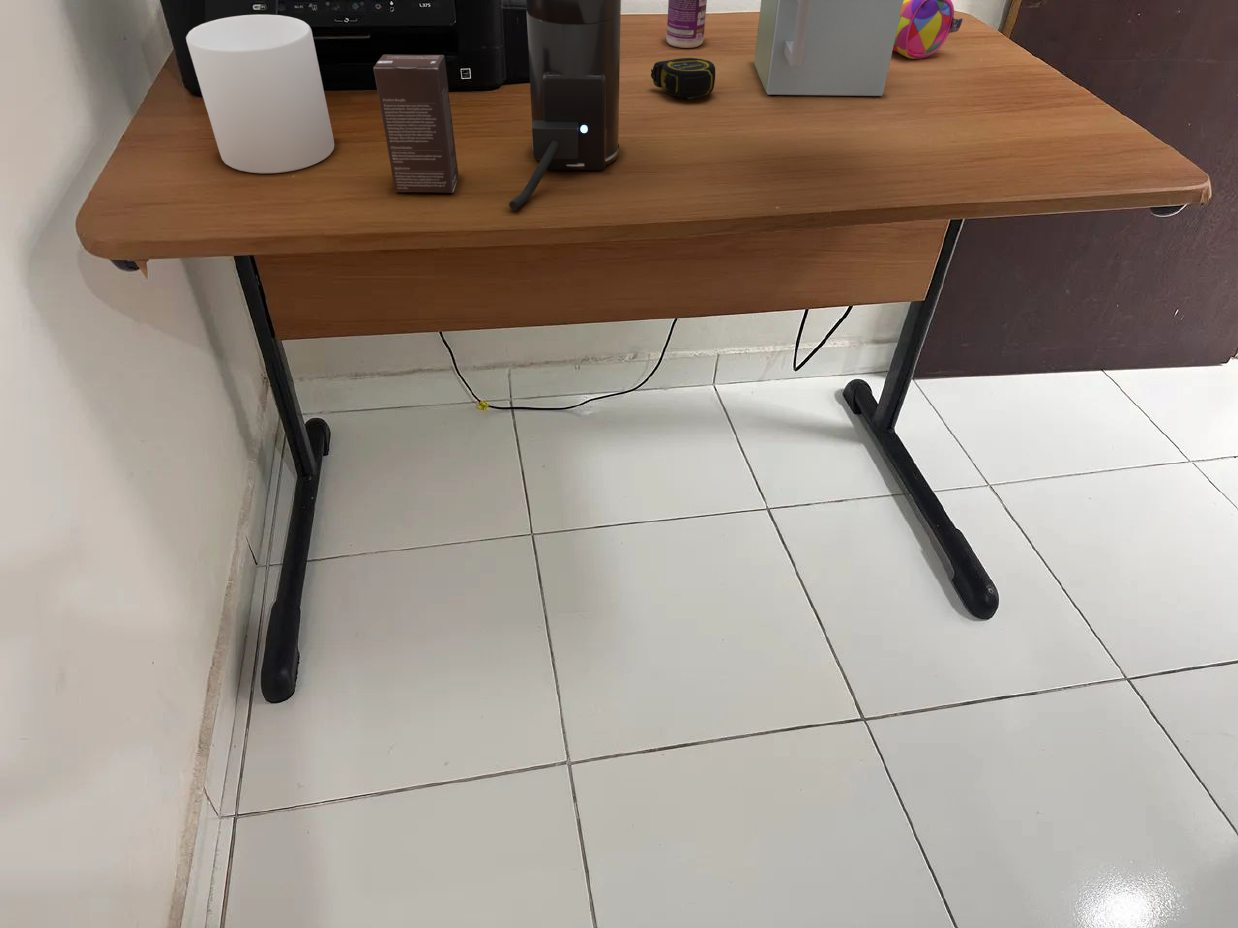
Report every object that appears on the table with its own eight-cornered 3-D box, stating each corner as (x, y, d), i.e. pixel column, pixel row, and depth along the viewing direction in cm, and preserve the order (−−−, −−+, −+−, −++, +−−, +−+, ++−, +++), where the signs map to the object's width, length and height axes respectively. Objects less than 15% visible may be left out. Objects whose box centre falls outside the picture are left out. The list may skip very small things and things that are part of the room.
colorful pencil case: (957, 57, 121) (976, -14, 115) (904, 66, 118) (921, -7, 112) (860, 15, 135) (872, -50, 129) (810, 22, 132) (821, -45, 126)
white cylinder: (356, 139, 96) (334, 22, 88) (292, 181, 88) (262, 57, 80) (266, 123, 99) (237, 9, 91) (197, 163, 91) (158, 41, 82)
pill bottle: (704, 49, 121) (710, -28, 115) (666, 48, 121) (670, -29, 115) (702, 37, 125) (708, -38, 119) (665, 36, 125) (669, -39, 119)
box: (459, 176, 90) (446, 53, 81) (453, 195, 86) (438, 69, 78) (401, 175, 90) (382, 51, 81) (392, 194, 86) (371, 67, 78)
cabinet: (880, 94, 110) (912, -56, 99) (765, 92, 109) (785, -58, 98) (860, 65, 118) (888, -76, 107) (753, 63, 117) (770, -78, 106)
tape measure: (697, 82, 112) (700, 51, 109) (723, 100, 107) (726, 68, 104) (649, 89, 110) (651, 57, 107) (673, 107, 105) (675, 75, 102)
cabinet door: (893, 111, 105) (928, -41, 94) (773, 110, 104) (794, -43, 93) (880, 93, 109) (912, -54, 98) (766, 92, 109) (785, -56, 98)
